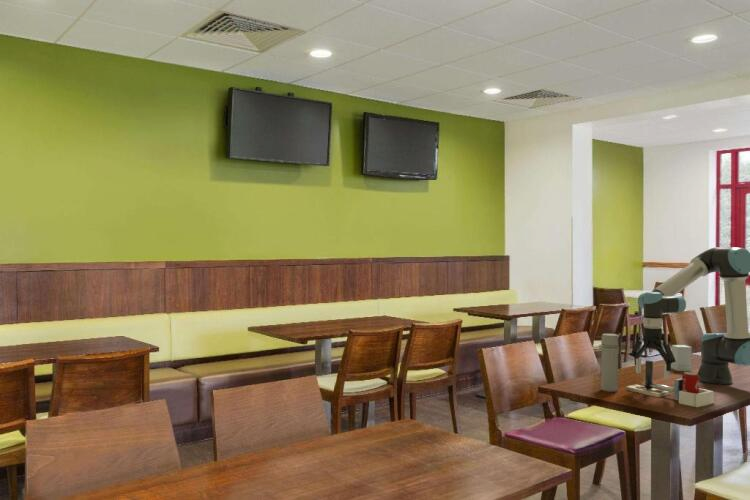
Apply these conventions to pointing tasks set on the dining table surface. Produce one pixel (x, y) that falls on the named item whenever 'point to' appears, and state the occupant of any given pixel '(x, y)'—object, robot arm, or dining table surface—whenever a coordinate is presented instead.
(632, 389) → the panel
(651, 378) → the metal lever handle
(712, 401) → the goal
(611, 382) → the water bottle
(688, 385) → the beverage can
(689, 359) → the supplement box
